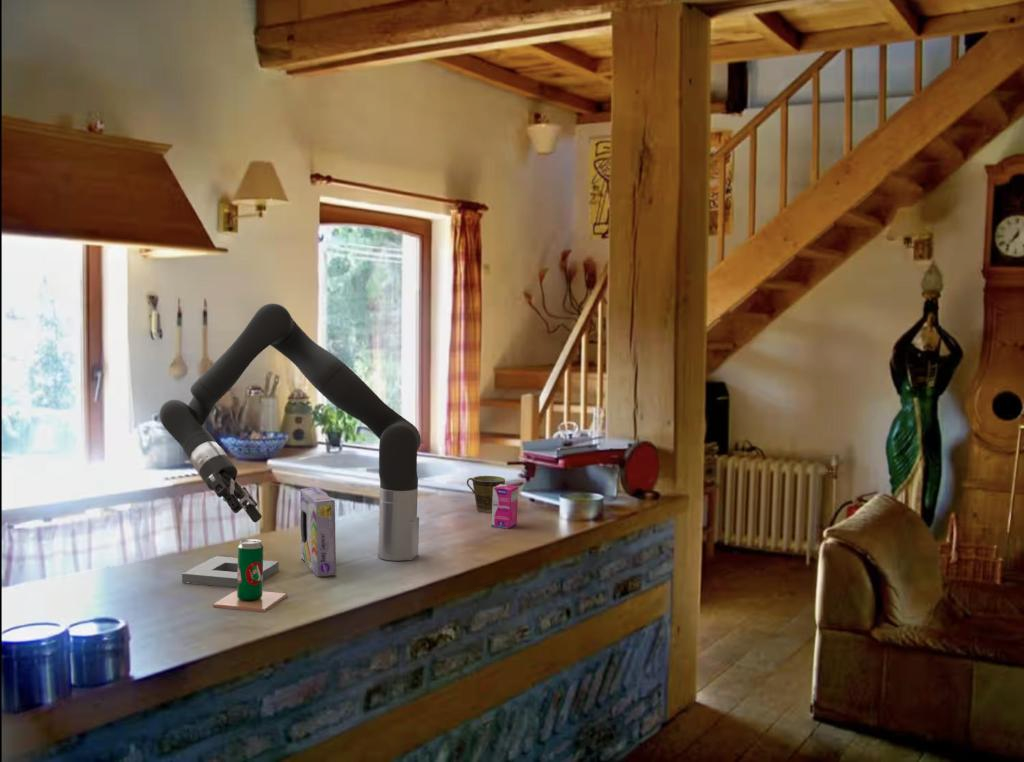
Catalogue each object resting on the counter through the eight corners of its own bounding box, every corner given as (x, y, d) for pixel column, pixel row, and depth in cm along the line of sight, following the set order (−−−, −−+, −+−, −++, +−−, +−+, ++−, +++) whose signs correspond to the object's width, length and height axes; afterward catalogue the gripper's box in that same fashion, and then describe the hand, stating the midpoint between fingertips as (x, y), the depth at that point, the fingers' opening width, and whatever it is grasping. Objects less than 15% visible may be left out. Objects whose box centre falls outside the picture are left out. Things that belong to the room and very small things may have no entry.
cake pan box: (297, 557, 240) (299, 485, 239) (318, 556, 242) (320, 484, 241) (314, 579, 223) (316, 501, 221) (336, 577, 225) (338, 500, 223)
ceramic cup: (510, 510, 304) (511, 478, 303) (492, 516, 295) (493, 482, 294) (475, 504, 310) (476, 473, 310) (456, 509, 302) (457, 477, 301)
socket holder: (278, 570, 229) (278, 561, 228) (249, 588, 213) (249, 579, 213) (215, 564, 231) (215, 556, 231) (182, 582, 216) (182, 573, 216)
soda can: (239, 594, 207) (240, 538, 206) (264, 595, 207) (265, 538, 206) (234, 602, 202) (235, 544, 201) (259, 602, 202) (260, 544, 201)
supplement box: (490, 527, 281) (492, 487, 280) (498, 523, 286) (500, 483, 285) (509, 529, 279) (511, 489, 278) (517, 525, 284) (518, 485, 283)
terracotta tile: (286, 596, 209) (286, 593, 209) (264, 611, 198) (264, 609, 198) (237, 591, 211) (237, 588, 211) (213, 607, 200) (213, 604, 200)
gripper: (209, 445, 223) (245, 495, 215) (241, 463, 235) (276, 511, 228) (184, 467, 222) (219, 519, 215) (217, 484, 235) (251, 533, 228)
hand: (248, 515), depth 222 cm, fingers open, 8 cm apart
